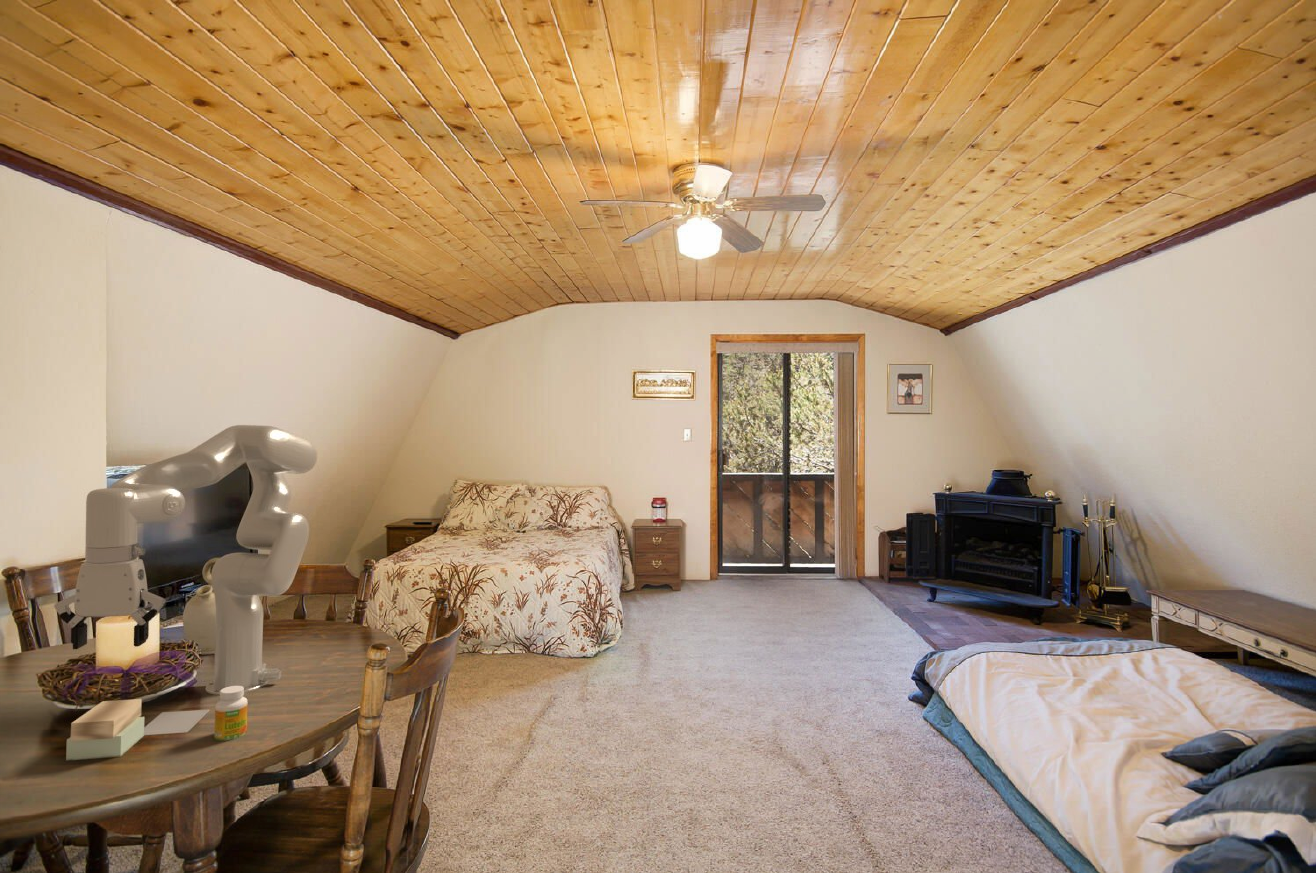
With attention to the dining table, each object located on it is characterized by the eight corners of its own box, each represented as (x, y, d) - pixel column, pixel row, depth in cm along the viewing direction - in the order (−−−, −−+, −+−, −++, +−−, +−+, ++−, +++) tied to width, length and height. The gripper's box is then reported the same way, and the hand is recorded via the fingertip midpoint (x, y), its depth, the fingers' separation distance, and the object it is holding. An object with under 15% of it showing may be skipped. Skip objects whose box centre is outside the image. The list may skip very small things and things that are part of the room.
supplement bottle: (222, 747, 128) (224, 696, 128) (208, 739, 131) (210, 690, 131) (252, 737, 133) (253, 688, 133) (238, 729, 135) (239, 682, 135)
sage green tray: (143, 739, 130) (144, 716, 130) (120, 760, 122) (121, 735, 122) (93, 743, 128) (93, 720, 128) (66, 764, 120) (66, 739, 120)
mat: (210, 713, 143) (210, 709, 143) (187, 736, 132) (187, 732, 132) (161, 716, 141) (161, 712, 141) (134, 739, 130) (134, 735, 130)
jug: (210, 660, 175) (213, 564, 174) (167, 652, 179) (170, 559, 179) (261, 643, 189) (263, 555, 189) (220, 636, 194) (222, 550, 194)
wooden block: (141, 715, 131) (141, 698, 131) (113, 738, 121) (113, 720, 121) (102, 717, 129) (102, 701, 129) (70, 741, 119) (71, 723, 119)
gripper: (173, 550, 131) (172, 637, 131) (69, 551, 126) (68, 641, 127) (155, 557, 123) (153, 649, 124) (43, 559, 119) (42, 655, 119)
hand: (110, 645), depth 125 cm, fingers open, 9 cm apart
